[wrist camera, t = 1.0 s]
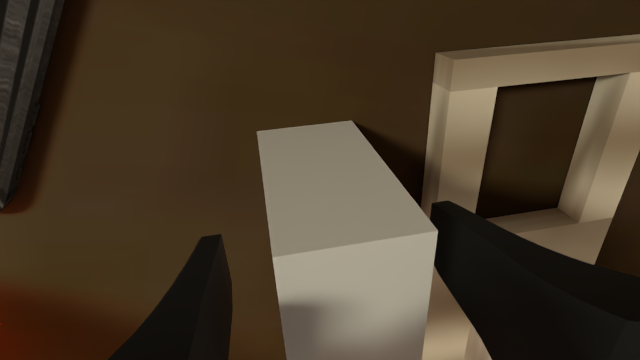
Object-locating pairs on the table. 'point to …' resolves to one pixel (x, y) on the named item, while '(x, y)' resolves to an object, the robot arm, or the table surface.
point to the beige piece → (585, 169)
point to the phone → (22, 79)
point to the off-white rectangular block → (344, 246)
